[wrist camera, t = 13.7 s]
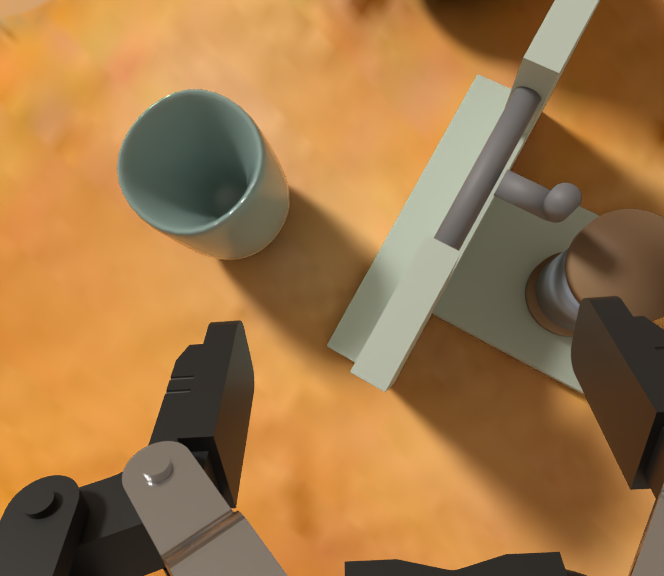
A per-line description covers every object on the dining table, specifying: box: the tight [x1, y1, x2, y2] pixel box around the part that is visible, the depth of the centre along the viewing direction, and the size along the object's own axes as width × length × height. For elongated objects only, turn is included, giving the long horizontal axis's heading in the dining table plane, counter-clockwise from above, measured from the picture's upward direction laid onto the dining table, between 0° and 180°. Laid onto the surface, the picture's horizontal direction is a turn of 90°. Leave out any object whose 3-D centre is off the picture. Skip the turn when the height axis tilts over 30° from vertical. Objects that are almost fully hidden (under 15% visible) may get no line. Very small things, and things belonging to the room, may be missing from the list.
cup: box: [117, 89, 290, 260], centre depth 34 cm, size 8×8×10 cm
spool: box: [525, 209, 664, 337], centre depth 30 cm, size 5×5×10 cm
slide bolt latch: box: [327, 0, 600, 394], centre depth 29 cm, size 20×15×15 cm
